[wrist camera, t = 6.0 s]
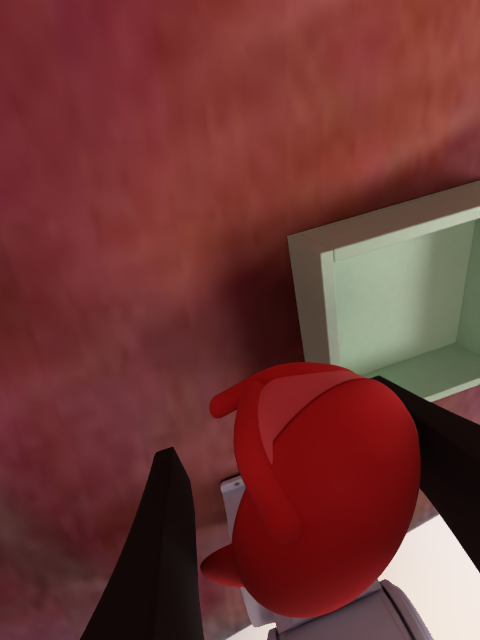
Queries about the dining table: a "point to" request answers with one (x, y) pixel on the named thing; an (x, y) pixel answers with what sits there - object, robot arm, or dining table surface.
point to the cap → (316, 486)
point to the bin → (396, 292)
